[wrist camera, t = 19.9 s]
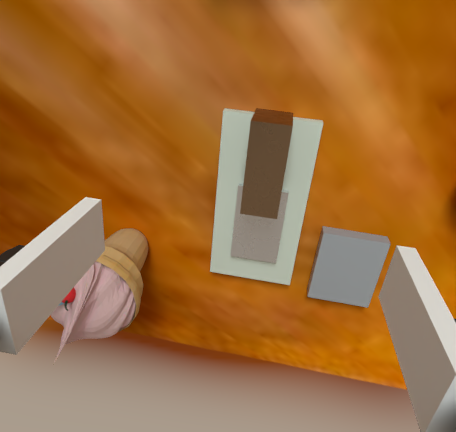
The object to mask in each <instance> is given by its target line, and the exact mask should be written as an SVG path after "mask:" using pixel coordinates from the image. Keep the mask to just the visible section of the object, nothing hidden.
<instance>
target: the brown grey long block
mask: <svg viewBox="0 0 456 432" xmlns="http://www.w3.org/2000/svg"><path fill="white" fill-rule="evenodd" d="M292 128H293V113H290V112H282V111H274V110H266V109H258V108H256V110H255V113H254V115H253V117H252V119H251V123H250V131H249V140H248V148H247V157H246V166H245V174H244V183H243V184H242V183H239V185H238V192H237V201H236V210H235V219H234V228H233V237H232V247H231V256H235V257H241V258H247V259H253V260H259V261H265V262H271V263H276V261H277V256H278V250H279V244H280V239H281V233H282V228H283V222H284V216H285V211H286V205H287V200H288V194H289V190H283V189H282V187H283V181H284V175H285V169H286V163H287V158H288V152H289V146H290V140H291V134H292Z"/></svg>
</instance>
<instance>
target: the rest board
mask: <svg viewBox="0 0 456 432" xmlns="http://www.w3.org/2000/svg"><path fill="white" fill-rule="evenodd" d="M254 113H255V112H250V111H242V110H234V109H226V108H225V109H224V110H223V120H222V132H221V145H220V157H219V169H218V181H217V193H216V205H215V218H214V230H213V242H212V254H211V266H210V272H215V273H221V274H227V275H233V276H239V277H245V278H250V279H256V280H262V281H268V282H274V283H280V284H286V285H290V281H291V276H292V272H293V267H294V262H295V257H296V252H297V247H298V243H299V238H300V233H301V228H302V223H303V219H304V214H305V209H306V204H307V199H308V194H309V190H310V185H311V180H312V175H313V170H314V166H315V161H316V156H317V151H318V146H319V141H320V137H321V132H322V127H323V121H322V120H314V119H306V118H298V117H293V128H292V134H291V140H290V146H289V152H288V158H287V163H286V169H285V175H284V181H283V187H282V189H283V190H289V194H288V200H287V205H286V211H285V216H284V222H283V228H282V233H281V239H280V244H279V250H278V256H277V261H276V263H271V262H265V261H259V260H253V259H247V258H241V257H235V256H231V247H232V237H233V228H234V219H235V210H236V201H237V192H238V185H239V183H242V184H243V183H244V174H245V166H246V157H247V148H248V140H249V131H250V123H251V119H252V117H253V115H254Z"/></svg>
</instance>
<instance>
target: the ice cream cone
mask: <svg viewBox="0 0 456 432" xmlns="http://www.w3.org/2000/svg"><path fill="white" fill-rule="evenodd" d="M104 243H105V251H104V252H103V253H102V254H101V256H100V257H99V258H98V259H97V260H96V262H95V263H94V264H93V265H92V266H91V267H90V269H89V270H88V271H87V272H86V273H85V274H84V276H83V277H82V278H81V279H80V280H79V282H78V283H77V284H76V285H75V286H74V287H73V289H72V290H71V291H70V292H69V293H68V295H67V296H66V297H65V298H64V299H63V300H62V302H61V303H60V304H59V305H58V306H57V307H56V309H55V310H54V311H53V312H52V313H51V316H52V318H53V319H54V320H55V321H57V322H58V323H60V324H62V325H63V326H64V331H63V334H62V338H61V345H60V349H59V352H58V354H57V357H58V356H59V353H60V352H61V350H62V348H63V346H64V345H65V344H68V343H70V342H73V341H76V340H79V339H86V338H98V339H99V338H107V337H111V336H112V335H114V334H116V333H117V332H119V331H121V330H123V329H125V328H127V327H128V326H129V325H130V324H131V322H132V321H133V320H134V318H135V317H136V316H137V314H138V312H139V308H140V302H141V296H142V291H143V281H142V277H141V273H140V271H141V269H142V267H143V264H144V262H145V260H146V257H147V254H148V249H149V248H148V243H147V239H146V237H145V236H144V235H143V234H142V233H141V232H140V231H138V230H136V229H132V228H128V229H121V230H119V231H117V232H115V233H114V234H113V235H111V236H110V237H109V238H108V239H106V240H105V241H104ZM57 357H56V359H57ZM56 359H55V361H56Z"/></svg>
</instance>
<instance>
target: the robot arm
mask: <svg viewBox="0 0 456 432" xmlns="http://www.w3.org/2000/svg"><path fill="white" fill-rule="evenodd" d="M104 251H105V243H104V229H103V216H102V203H101V199H94V198H88V197H85V198H84V199H83V200H81V201H80V202H79V203H78V204H76V205H75V206H74V207H73V208H71V209H70V210H69V211H68V212H67V213H65V214H64V215H63V216H62V217H60V218H59V219H58V220H57V221H56V222H54V223H53V224H52V225H51V226H49V227H48V228H47V229H46V230H44V231H43V232H42V233H41V234H40V235H38V236H37V237H36V238H35V239H33V240H32V241H31V242H30V243H29V244H27V245H26V246H22V245H18V246H16V247H14V248H12V249H9V250H7V251H5V252H4V253H3V254H1V255H0V351H1V352H6V353H11V354H15V355H16V354H17V353H18V352H19V351H20V350H21V349H22V347H23V346H24V345H25V344H26V343H27V342H28V340H29V339H30V338H31V337H32V336H33V335H34V333H35V332H36V331H37V330H38V329H39V328H40V326H41V325H42V324H43V323H44V322H45V320H46V319H47V318H48V317H49V316H50V315H51V313H52V312H53V311H54V310H55V309H56V307H57V306H58V305H59V304H60V303H61V302H62V300H63V299H64V298H65V297H66V296H67V295H68V293H69V292H70V291H71V290H72V289H73V287H74V286H75V285H76V284H77V283H78V282H79V280H80V279H81V278H82V277H83V276H84V274H85V273H86V272H87V271H88V270H89V269H90V267H91V266H92V265H93V264H94V263H95V262H96V260H97V259H98V258H99V257H100V256H101V254H102V253H103V252H104ZM379 299H380V302H381V306H382V309H383V312H384V315H385V319H386V322H387V325H388V328H389V332H390V335H391V338H392V341H393V344H394V348H395V351H396V354H397V357H398V361H399V364H400V367H401V370H402V374H403V377H404V380H405V383H406V387H407V390H408V393H409V396H410V400H411V403H412V406H413V409H414V412H415V416H416V419H417V422H418V425H419V429H420V432H455V431H456V319H453V317H452V315H451V313H450V311H449V309H448V308H447V306H446V304H445V302H444V300H443V298H442V296H441V295H440V293H439V291H438V289H437V287H436V285H435V284H434V282H433V280H432V278H431V276H430V274H429V272H428V271H427V269H426V267H425V265H424V263H423V261H422V259H421V258H420V256H419V254H418V252H417V250H416V248H410V247H404V246H396V249H395V252H394V255H393V257H392V260H391V263H390V266H389V269H388V272H387V274H386V277H385V280H384V283H383V286H382V289H381V291H380V294H379Z"/></svg>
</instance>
